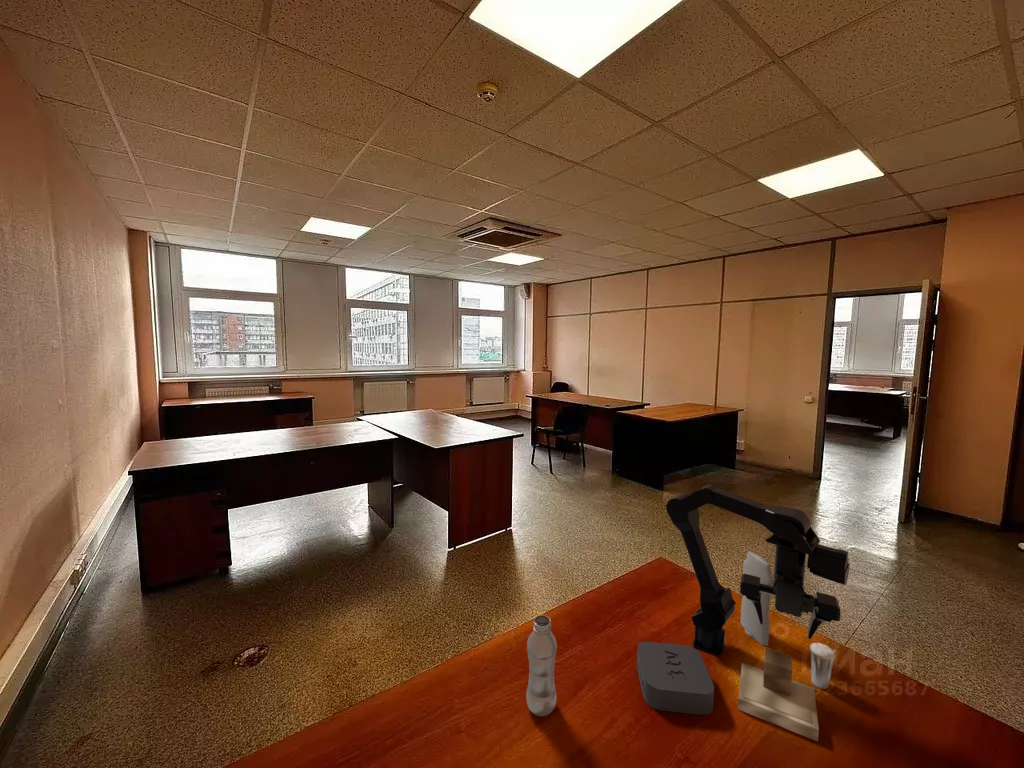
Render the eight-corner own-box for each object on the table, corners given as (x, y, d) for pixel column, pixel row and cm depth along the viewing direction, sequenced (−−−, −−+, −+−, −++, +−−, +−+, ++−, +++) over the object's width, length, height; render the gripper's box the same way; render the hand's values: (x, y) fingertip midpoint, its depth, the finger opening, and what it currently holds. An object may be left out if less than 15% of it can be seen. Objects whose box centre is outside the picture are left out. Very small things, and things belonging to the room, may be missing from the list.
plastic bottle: (559, 699, 93) (560, 614, 91) (552, 725, 87) (553, 634, 85) (531, 691, 95) (532, 607, 93) (522, 716, 89) (522, 627, 87)
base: (737, 709, 91) (738, 697, 91) (741, 672, 101) (742, 661, 101) (817, 741, 84) (818, 729, 83) (813, 698, 94) (813, 687, 93)
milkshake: (840, 693, 95) (843, 652, 94) (813, 689, 96) (816, 648, 95) (829, 677, 99) (832, 638, 98) (803, 674, 100) (807, 634, 99)
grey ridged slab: (775, 647, 109) (781, 566, 107) (760, 648, 109) (766, 567, 107) (747, 620, 120) (752, 546, 118) (733, 621, 119) (738, 547, 117)
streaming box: (716, 718, 89) (718, 695, 88) (645, 710, 91) (646, 688, 90) (696, 666, 103) (697, 646, 103) (635, 660, 105) (635, 640, 104)
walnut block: (763, 686, 93) (765, 661, 93) (763, 671, 98) (765, 647, 97) (790, 696, 91) (792, 670, 90) (789, 680, 95) (791, 656, 95)
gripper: (740, 570, 94) (736, 636, 95) (847, 597, 84) (840, 670, 86) (743, 549, 103) (739, 609, 105) (839, 571, 93) (833, 637, 95)
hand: (784, 630), depth 97 cm, fingers open, 9 cm apart
